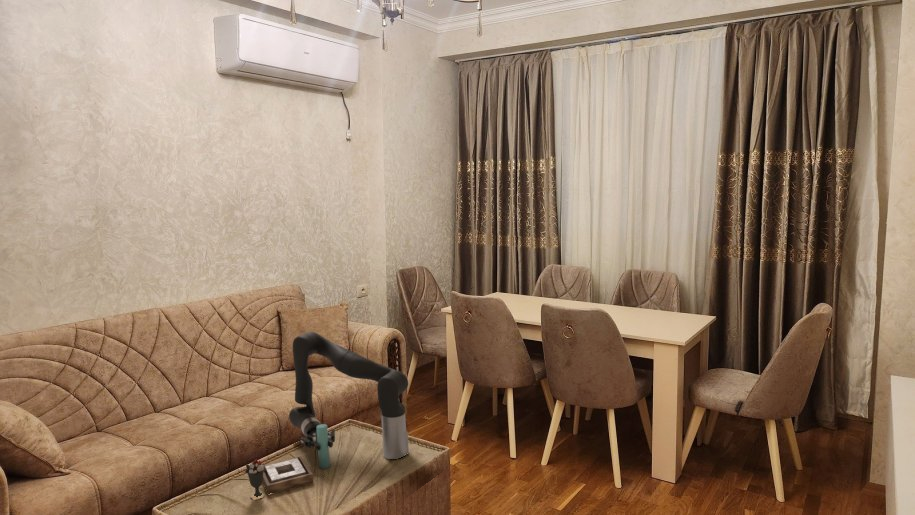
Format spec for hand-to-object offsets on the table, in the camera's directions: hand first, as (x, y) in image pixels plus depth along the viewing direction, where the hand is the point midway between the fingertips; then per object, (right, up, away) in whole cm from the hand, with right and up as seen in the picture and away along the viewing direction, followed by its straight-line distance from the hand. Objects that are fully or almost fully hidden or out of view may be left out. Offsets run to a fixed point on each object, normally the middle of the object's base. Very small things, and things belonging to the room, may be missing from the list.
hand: (325, 446), depth 235 cm
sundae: (-20, -13, -16) cm, 29 cm away
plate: (-13, -11, -5) cm, 18 cm away
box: (-13, -11, -5) cm, 18 cm away
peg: (-1, -9, +4) cm, 9 cm away
